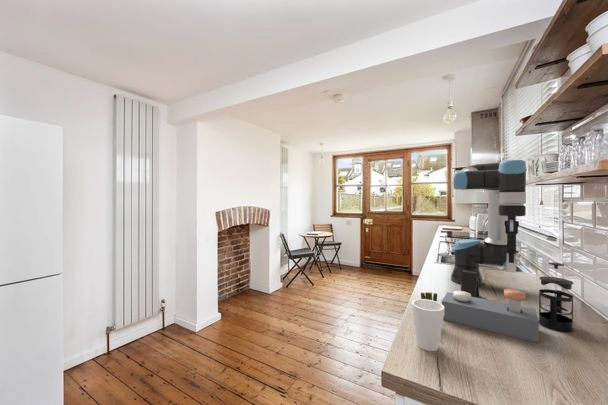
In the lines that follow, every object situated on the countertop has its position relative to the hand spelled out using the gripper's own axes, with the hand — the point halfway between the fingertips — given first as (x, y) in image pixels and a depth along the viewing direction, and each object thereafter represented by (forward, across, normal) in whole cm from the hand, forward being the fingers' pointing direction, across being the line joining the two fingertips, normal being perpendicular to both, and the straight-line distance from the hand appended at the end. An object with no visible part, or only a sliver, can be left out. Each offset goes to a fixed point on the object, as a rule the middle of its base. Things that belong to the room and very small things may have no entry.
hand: (511, 271), depth 93 cm
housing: (+21, 0, -7) cm, 22 cm away
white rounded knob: (+20, 0, -15) cm, 25 cm away
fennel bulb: (+21, +14, -24) cm, 35 cm away
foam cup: (+21, +29, -20) cm, 41 cm away
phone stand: (+21, -28, -16) cm, 38 cm away
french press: (+21, -14, +13) cm, 28 cm away
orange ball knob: (+16, 0, +1) cm, 16 cm away
